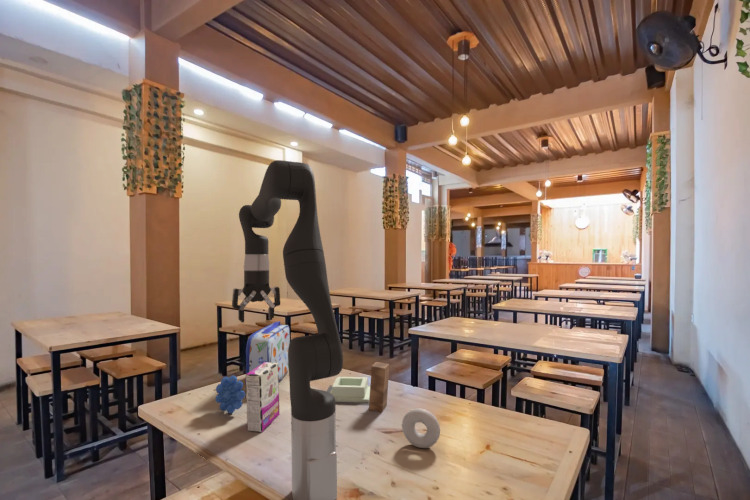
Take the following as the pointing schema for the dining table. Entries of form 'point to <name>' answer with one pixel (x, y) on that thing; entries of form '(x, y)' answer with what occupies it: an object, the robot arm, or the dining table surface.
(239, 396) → the grapes
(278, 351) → the lunch box
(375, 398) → the walnut block
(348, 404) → the mat
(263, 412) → the candy bar box
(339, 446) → the dining table surface
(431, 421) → the donut
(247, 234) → the robot arm
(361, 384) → the holder
